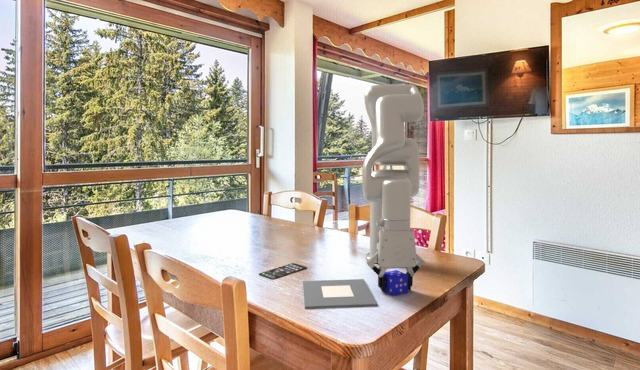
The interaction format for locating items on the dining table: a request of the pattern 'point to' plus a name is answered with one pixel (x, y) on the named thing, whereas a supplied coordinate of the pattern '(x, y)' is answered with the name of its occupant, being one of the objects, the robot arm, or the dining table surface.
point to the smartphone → (282, 271)
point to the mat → (337, 293)
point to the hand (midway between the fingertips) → (395, 288)
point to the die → (396, 282)
